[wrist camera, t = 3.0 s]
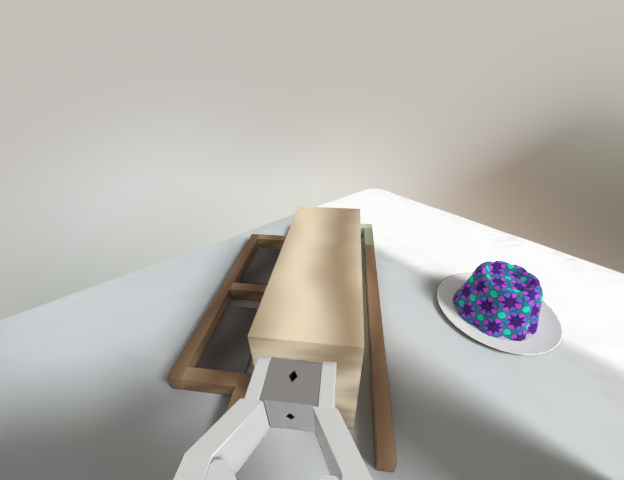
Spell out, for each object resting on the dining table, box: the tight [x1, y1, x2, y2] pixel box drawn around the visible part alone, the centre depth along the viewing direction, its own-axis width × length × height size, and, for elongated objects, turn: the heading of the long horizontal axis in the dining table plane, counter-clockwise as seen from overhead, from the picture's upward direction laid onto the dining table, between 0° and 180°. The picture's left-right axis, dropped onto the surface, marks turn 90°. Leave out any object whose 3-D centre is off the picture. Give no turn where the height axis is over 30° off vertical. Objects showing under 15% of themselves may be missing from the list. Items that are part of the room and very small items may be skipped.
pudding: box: [437, 261, 562, 355], centre depth 30 cm, size 12×12×5 cm
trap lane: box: [167, 224, 397, 472], centre depth 33 cm, size 18×32×2 cm, turn 173°
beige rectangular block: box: [248, 207, 364, 429], centre depth 27 cm, size 7×18×10 cm, turn 173°
